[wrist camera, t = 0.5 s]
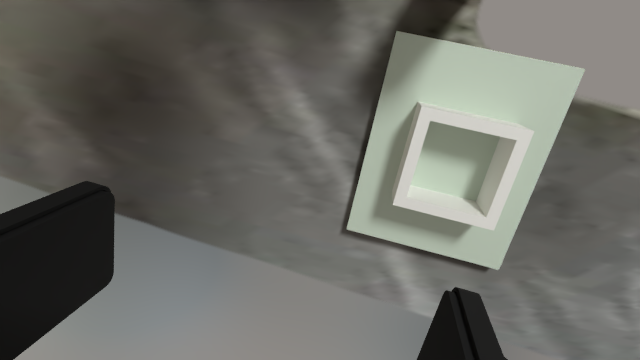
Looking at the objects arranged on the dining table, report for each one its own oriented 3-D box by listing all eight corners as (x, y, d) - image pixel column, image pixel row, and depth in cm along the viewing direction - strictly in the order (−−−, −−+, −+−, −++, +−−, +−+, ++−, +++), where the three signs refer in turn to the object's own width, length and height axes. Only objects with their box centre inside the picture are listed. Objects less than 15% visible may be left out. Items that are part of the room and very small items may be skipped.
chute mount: (396, 32, 33) (397, 26, 28) (576, 68, 31) (613, 69, 26) (347, 223, 40) (341, 247, 35) (494, 262, 38) (511, 293, 33)
